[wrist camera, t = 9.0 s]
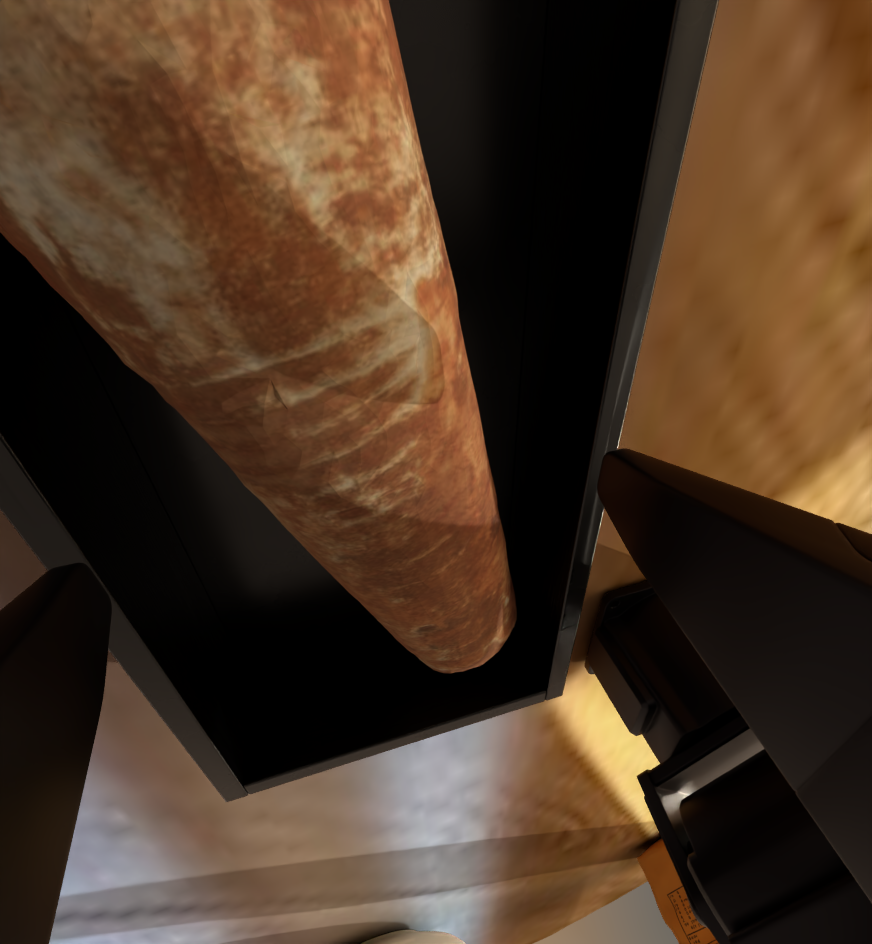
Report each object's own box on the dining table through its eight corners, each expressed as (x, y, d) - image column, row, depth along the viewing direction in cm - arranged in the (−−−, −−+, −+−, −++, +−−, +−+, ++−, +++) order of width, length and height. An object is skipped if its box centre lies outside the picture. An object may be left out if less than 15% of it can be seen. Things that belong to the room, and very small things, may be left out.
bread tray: (599, -382, 7) (922, -885, 4) (512, 600, 21) (562, 696, 18) (-427, -574, 5) (-2368, -2541, 1) (234, 674, 19) (225, 803, 15)
